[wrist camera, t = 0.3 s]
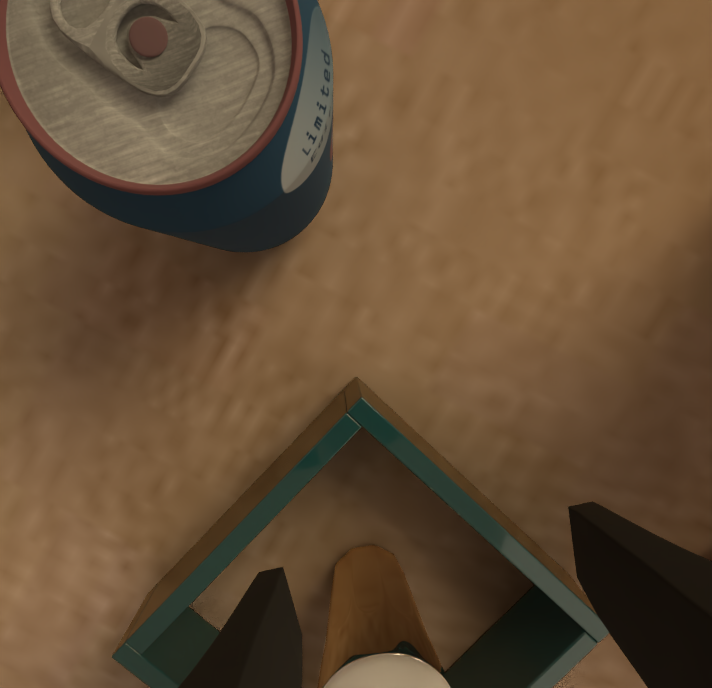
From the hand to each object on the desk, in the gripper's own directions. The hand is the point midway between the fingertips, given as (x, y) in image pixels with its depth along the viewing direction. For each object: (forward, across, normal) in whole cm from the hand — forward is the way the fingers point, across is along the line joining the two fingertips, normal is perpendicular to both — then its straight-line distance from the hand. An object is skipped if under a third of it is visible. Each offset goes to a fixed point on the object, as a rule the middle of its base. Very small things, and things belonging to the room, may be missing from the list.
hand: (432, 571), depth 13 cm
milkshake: (+10, +3, +7) cm, 13 cm away
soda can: (+12, +4, -11) cm, 17 cm away
